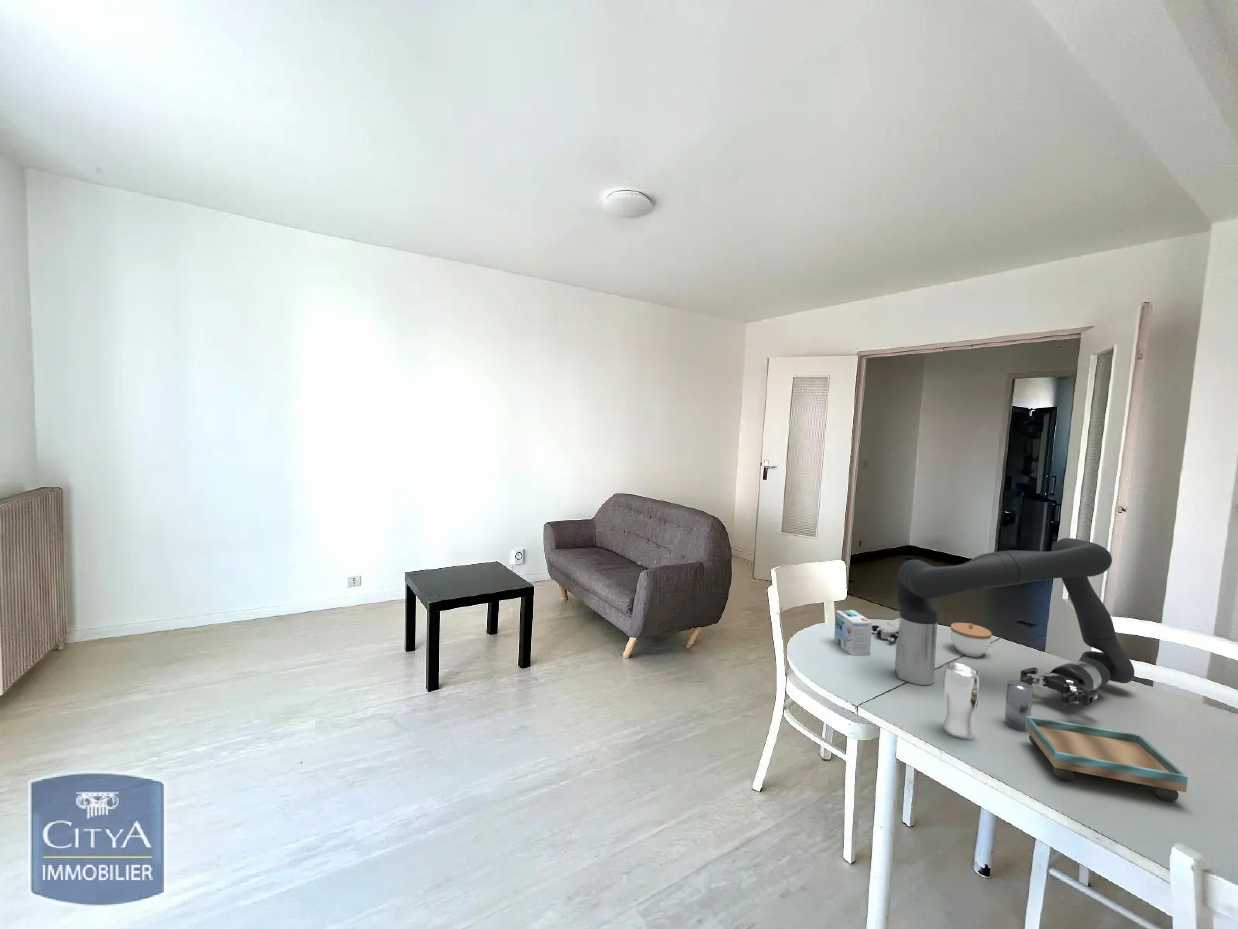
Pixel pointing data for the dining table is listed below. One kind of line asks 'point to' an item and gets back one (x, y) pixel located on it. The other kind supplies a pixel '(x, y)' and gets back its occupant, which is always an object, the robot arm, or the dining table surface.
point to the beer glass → (961, 699)
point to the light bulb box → (853, 632)
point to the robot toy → (888, 630)
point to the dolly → (1105, 755)
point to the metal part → (1018, 704)
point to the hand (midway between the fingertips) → (1042, 691)
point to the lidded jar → (970, 639)
